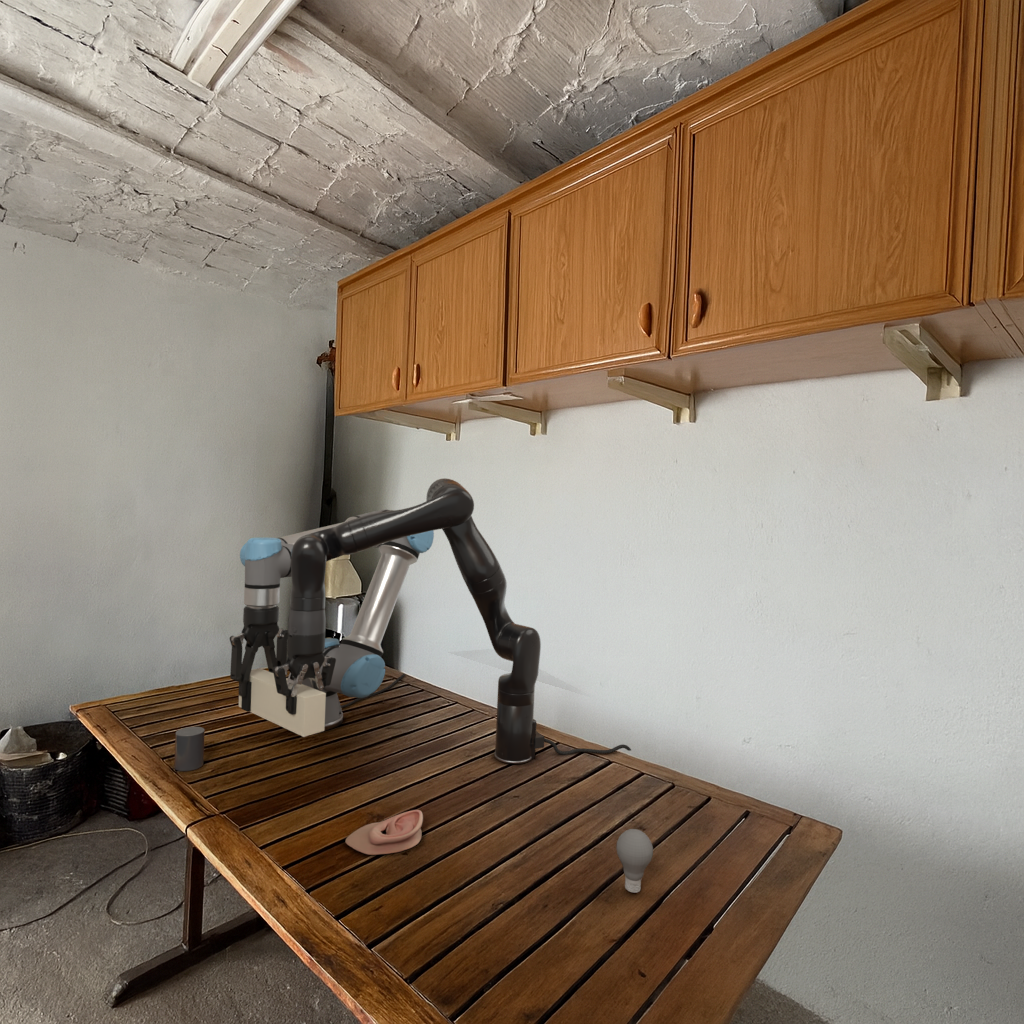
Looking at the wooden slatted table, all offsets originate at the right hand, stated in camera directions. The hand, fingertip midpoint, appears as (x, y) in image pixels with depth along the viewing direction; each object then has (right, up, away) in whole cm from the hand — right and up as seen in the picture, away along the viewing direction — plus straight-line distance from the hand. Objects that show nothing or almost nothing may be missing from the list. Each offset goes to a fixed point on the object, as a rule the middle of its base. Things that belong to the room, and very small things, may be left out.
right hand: (303, 709), depth 133 cm
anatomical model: (+20, -20, -15) cm, 32 cm away
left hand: (-14, -3, +11) cm, 18 cm away
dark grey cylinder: (-31, -17, +13) cm, 37 cm away
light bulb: (+64, -22, -28) cm, 73 cm away
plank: (-7, -4, +6) cm, 10 cm away
